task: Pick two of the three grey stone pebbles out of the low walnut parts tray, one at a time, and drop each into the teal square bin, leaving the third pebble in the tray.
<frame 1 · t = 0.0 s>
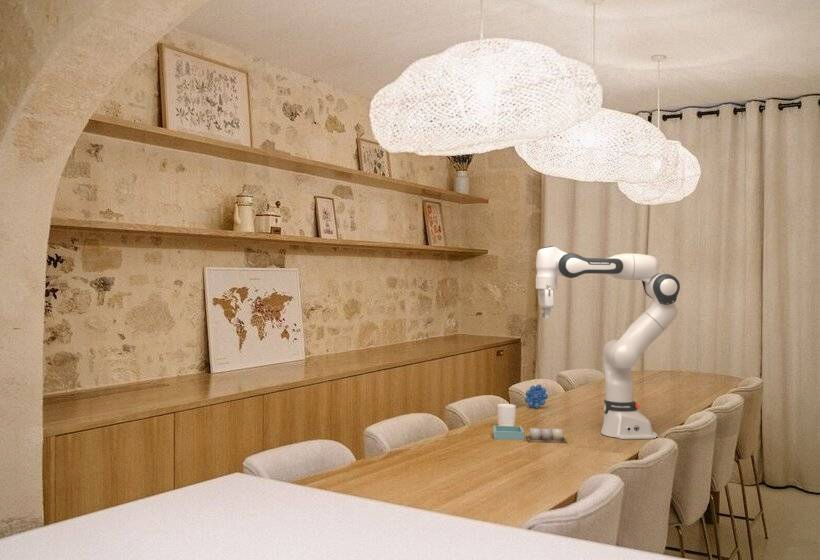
hand: (545, 317, 310), 48 cm above the table, fingers open, 8 cm apart
tray: (546, 441, 293), on the table
teal square bin: (508, 437, 299), on the table
grapes: (536, 408, 368), on the table
pebble 2: (546, 440, 293), resting on tray
pebble 3: (557, 440, 293), resting on tray
white cup: (506, 429, 317), on the table
pebble 1: (535, 439, 293), resting on tray
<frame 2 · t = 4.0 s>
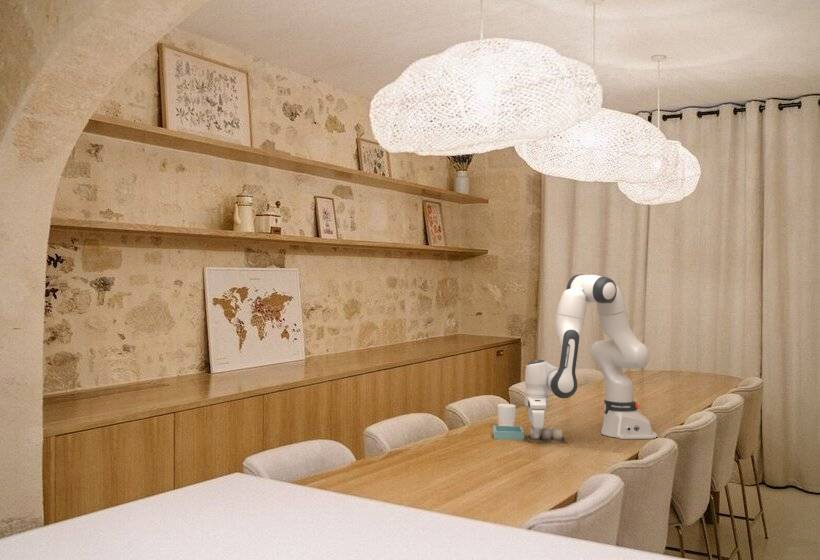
hand: (535, 435, 293), 2 cm above the table, fingers closed on pebble 1, 4 cm apart
pebble 1: (535, 439, 293), resting on tray, touching gripper
everything else where it was.
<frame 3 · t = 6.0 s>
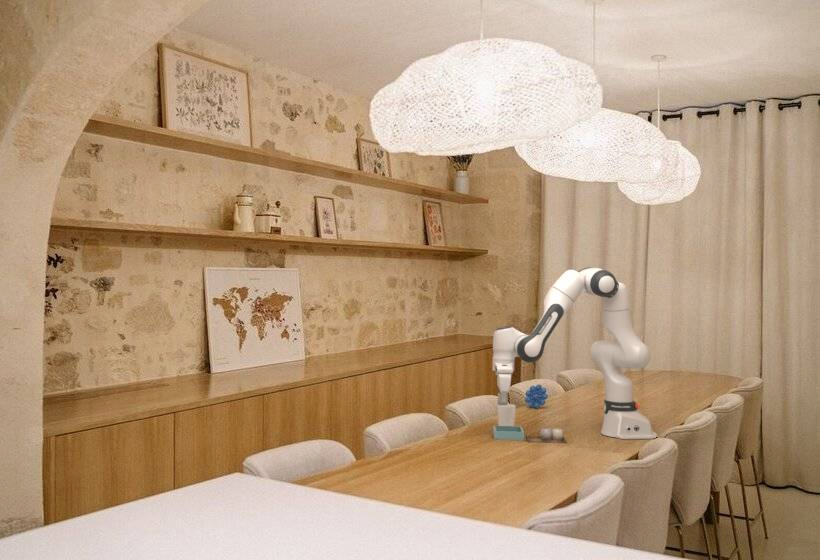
hand: (502, 400, 299), 15 cm above the table, fingers closed on pebble 1, 4 cm apart
pebble 1: (502, 404, 299), point 13 cm above the table, touching gripper
everything else where it was.
when the fingers open (5 cm above the table, at t = 8.1 s): pebble 1 drops 3 cm, resting on teal square bin.
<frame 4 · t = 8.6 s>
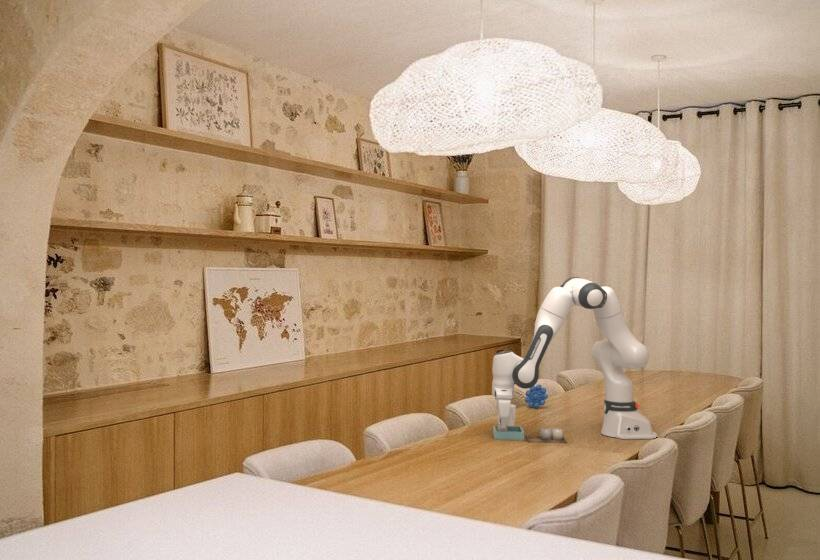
hand: (502, 425, 299), 5 cm above the table, fingers open, 8 cm apart
pebble 1: (502, 436, 299), point 1 cm above the table, touching teal square bin
everything else where it was.
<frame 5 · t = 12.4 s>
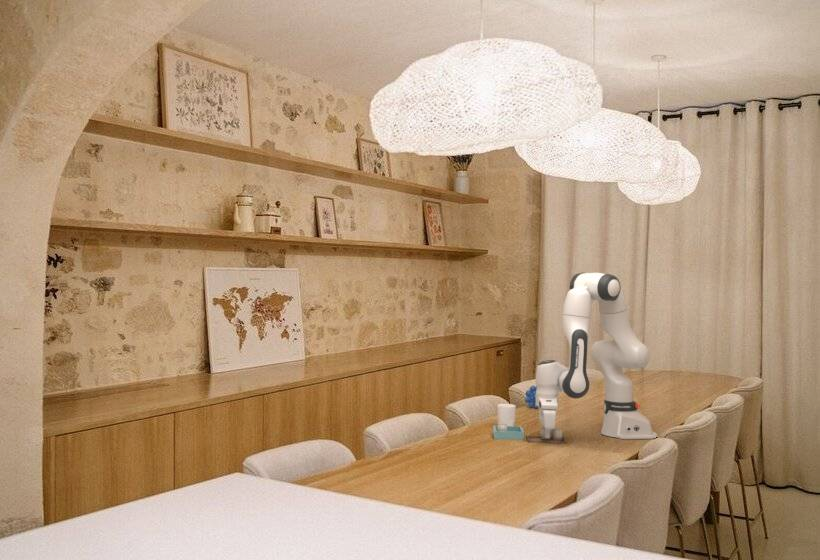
hand: (546, 436, 293), 2 cm above the table, fingers closed on pebble 2, 4 cm apart
pebble 2: (546, 440, 293), point 1 cm above the table, touching gripper, tray
everything else where it was.
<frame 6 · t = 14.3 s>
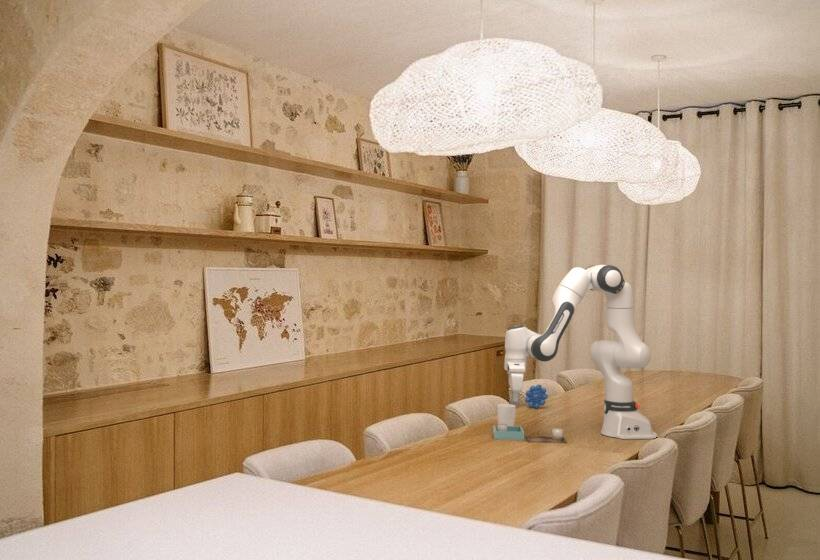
hand: (514, 400, 299), 15 cm above the table, fingers closed on pebble 2, 4 cm apart
pebble 2: (514, 403, 299), point 14 cm above the table, touching gripper
everything else where it was.
when the fingers open (5 cm above the table, at t = 16.5 s): pebble 2 drops 3 cm, resting on teal square bin.
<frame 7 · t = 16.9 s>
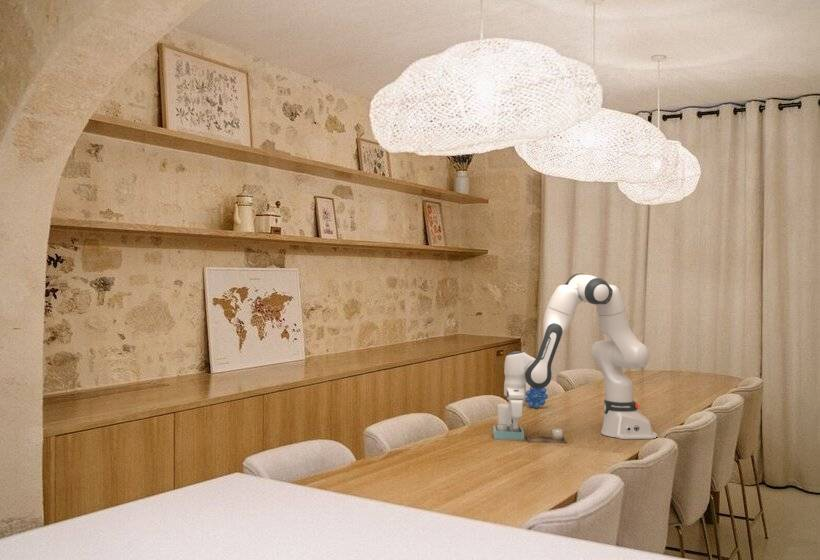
hand: (514, 425, 299), 5 cm above the table, fingers open, 8 cm apart
pebble 2: (514, 436, 299), point 1 cm above the table, touching teal square bin
everything else where it was.
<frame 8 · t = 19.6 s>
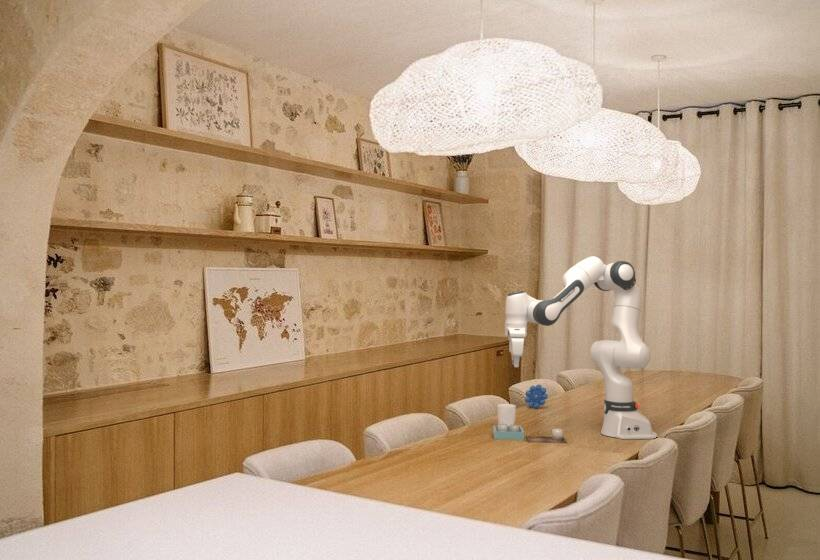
hand: (515, 365, 299), 29 cm above the table, fingers open, 8 cm apart
nothing on the table moved.
at the end: pebble 1 inside the target area on the teal square bin (2.4 cm from its centre), point 0.5 cm above the teal square bin's base; pebble 2 inside the target area on the teal square bin (2.4 cm from its centre), point 0.5 cm above the teal square bin's base; pebble 3 moved 0.0 cm from its start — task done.
